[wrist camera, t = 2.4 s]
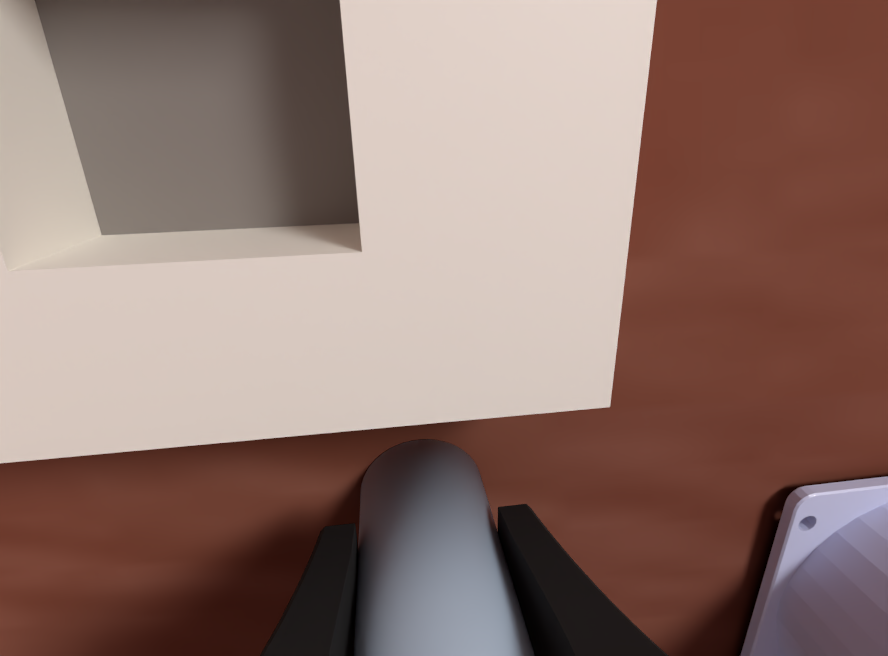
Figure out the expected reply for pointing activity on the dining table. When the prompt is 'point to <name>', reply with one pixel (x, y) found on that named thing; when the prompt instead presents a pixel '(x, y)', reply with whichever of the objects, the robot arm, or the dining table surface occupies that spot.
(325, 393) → the bore block
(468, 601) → the dowel
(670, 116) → the dining table surface
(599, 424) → the dining table surface
